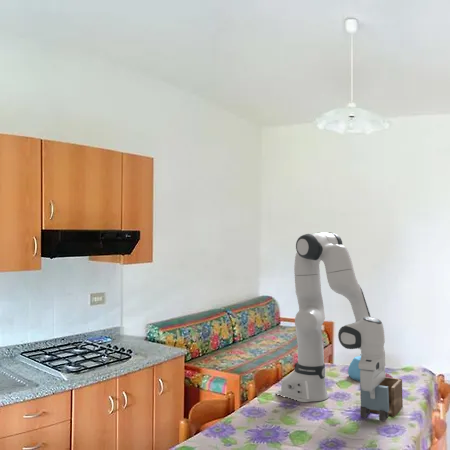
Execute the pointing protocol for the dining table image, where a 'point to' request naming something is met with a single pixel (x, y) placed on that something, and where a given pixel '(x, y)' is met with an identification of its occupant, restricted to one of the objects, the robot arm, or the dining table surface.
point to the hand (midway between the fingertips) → (374, 396)
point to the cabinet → (394, 399)
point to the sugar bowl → (355, 368)
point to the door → (376, 399)
